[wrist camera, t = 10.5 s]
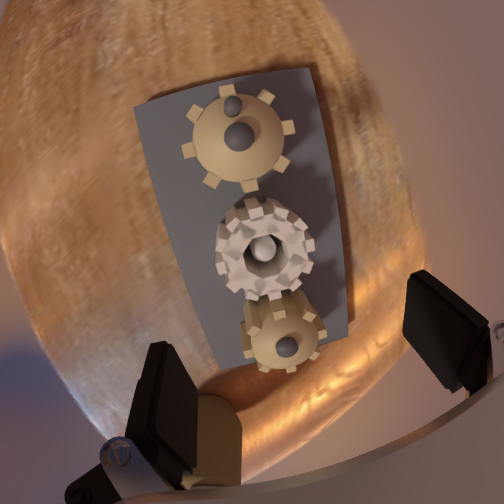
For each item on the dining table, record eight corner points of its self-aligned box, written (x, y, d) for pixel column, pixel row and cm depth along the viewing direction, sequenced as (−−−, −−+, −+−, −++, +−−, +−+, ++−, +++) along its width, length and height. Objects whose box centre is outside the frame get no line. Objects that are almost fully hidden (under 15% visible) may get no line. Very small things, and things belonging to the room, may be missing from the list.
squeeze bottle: (228, 381, 29) (238, 524, 13) (248, 415, 32) (264, 532, 16) (167, 393, 30) (153, 523, 13) (194, 425, 32) (193, 535, 16)
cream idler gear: (206, 209, 21) (202, 221, 17) (291, 188, 21) (306, 196, 17) (228, 285, 23) (230, 310, 20) (305, 265, 23) (320, 286, 20)
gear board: (139, 109, 19) (102, 93, 12) (303, 72, 19) (337, 42, 12) (220, 360, 28) (221, 414, 21) (343, 328, 28) (371, 373, 21)
